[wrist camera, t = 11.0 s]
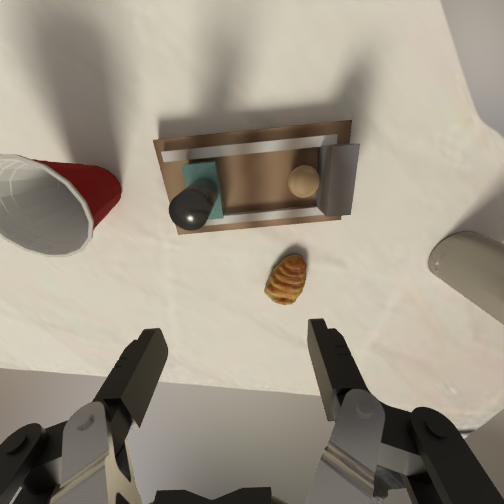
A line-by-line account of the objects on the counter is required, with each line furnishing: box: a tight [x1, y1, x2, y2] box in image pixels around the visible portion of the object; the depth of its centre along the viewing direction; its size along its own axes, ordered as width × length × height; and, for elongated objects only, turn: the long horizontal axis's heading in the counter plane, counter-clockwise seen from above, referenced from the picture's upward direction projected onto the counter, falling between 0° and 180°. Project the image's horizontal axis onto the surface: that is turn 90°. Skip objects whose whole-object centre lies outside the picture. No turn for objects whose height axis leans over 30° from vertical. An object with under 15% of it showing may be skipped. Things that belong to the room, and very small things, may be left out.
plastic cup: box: [0, 154, 122, 257], centre depth 26 cm, size 11×11×12 cm
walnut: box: [288, 165, 320, 198], centre depth 28 cm, size 4×4×4 cm
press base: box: [153, 120, 360, 235], centre depth 29 cm, size 25×13×7 cm, turn 95°
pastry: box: [264, 255, 306, 305], centre depth 38 cm, size 9×7×4 cm
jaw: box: [169, 160, 225, 231], centre depth 25 cm, size 4×7×11 cm, turn 5°
